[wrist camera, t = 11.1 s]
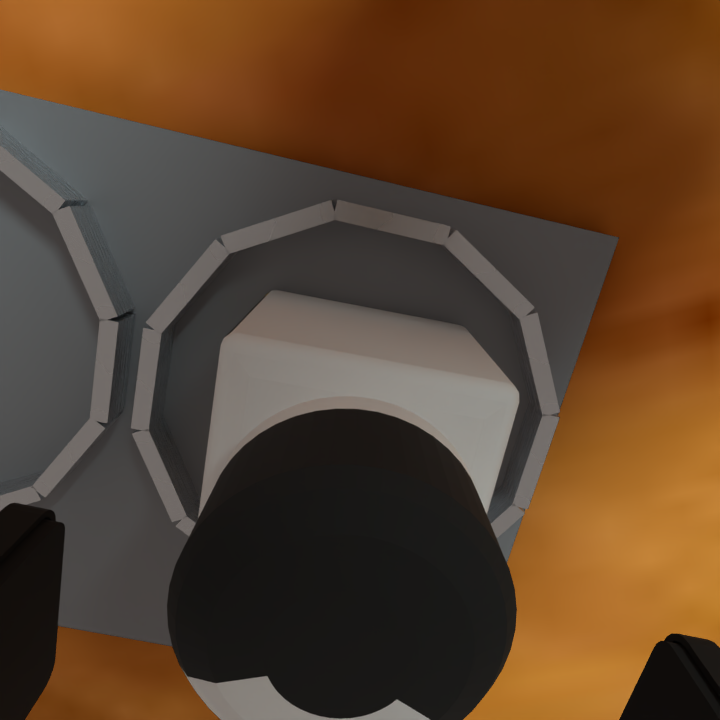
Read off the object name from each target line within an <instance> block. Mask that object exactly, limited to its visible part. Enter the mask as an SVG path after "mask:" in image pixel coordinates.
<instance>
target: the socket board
mask: <svg viewBox="0 0 720 720" xmlns="http://www.w3.org/2000/svg"><path fill="white" fill-rule="evenodd" d="M0 125H1V126H2V127H3V128H4V129H5V130H6V131H8V132H9V133H10V134H11V135H12V136H13V137H15V138H16V139H17V140H18V141H19V142H20V143H22V144H23V145H24V146H25V147H26V148H27V149H29V150H30V151H31V152H32V153H33V154H34V155H36V156H37V157H38V158H39V159H40V160H41V161H43V162H44V163H45V164H46V165H47V166H48V167H50V168H51V169H52V170H53V171H54V172H55V173H57V174H58V175H59V176H60V177H61V178H62V179H64V180H65V181H66V182H67V183H68V184H69V185H71V186H72V187H73V188H74V189H75V190H76V191H78V192H79V193H80V194H81V195H82V196H83V197H85V198H86V199H87V200H88V201H87V202H86V204H85V205H84V206H92V207H93V210H94V212H95V214H96V217H97V219H98V221H99V224H100V226H101V228H102V231H103V233H104V235H105V238H106V240H107V242H108V245H109V247H110V250H111V252H112V254H113V257H114V259H115V261H116V264H117V266H118V268H119V271H120V273H121V275H122V278H123V280H124V282H125V285H126V287H127V289H128V292H129V294H130V297H131V299H132V301H133V304H134V306H135V308H134V309H132V310H130V311H128V312H132V313H136V319H135V327H134V336H133V344H132V352H131V361H130V369H129V377H128V386H127V394H126V402H125V408H124V409H123V410H122V412H123V413H122V414H121V415H120V416H119V417H118V418H117V420H116V421H115V422H114V423H113V424H112V425H111V427H110V428H109V429H108V430H107V431H106V432H105V434H104V435H103V436H102V437H101V438H100V439H99V440H98V442H97V443H96V444H95V445H94V446H93V447H92V449H91V450H90V451H89V452H88V453H87V454H86V455H85V457H84V458H83V459H82V460H81V461H80V462H79V464H78V465H77V466H76V467H75V468H74V469H73V470H72V472H71V473H70V474H69V475H68V476H67V477H66V478H65V479H64V480H63V481H62V482H61V483H60V484H59V485H58V486H57V487H56V488H55V489H54V490H53V491H52V492H51V493H50V494H49V495H48V496H46V497H44V498H43V499H42V500H40V501H37V502H33V503H30V504H27V505H29V506H34V507H40V508H45V509H50V510H52V511H54V513H55V516H56V521H57V522H62V523H64V525H65V540H64V552H63V565H62V578H61V591H60V603H59V616H58V626H62V627H67V628H73V629H78V630H84V631H90V632H95V633H101V634H106V635H112V636H117V637H123V638H129V639H134V640H140V641H145V642H151V643H157V644H162V645H168V646H172V643H171V638H170V634H169V629H168V619H167V600H168V592H169V584H170V581H171V578H172V574H173V571H174V568H175V564H176V562H177V560H178V558H179V556H180V554H181V552H182V550H183V548H184V546H185V544H186V542H187V540H188V538H189V536H188V535H186V534H185V533H184V532H182V531H181V530H180V529H178V528H177V527H176V524H177V522H178V521H179V520H178V521H174V522H172V521H171V519H170V517H169V514H168V512H167V510H166V508H165V506H164V503H163V501H162V499H161V497H160V495H159V493H158V490H157V488H156V486H155V484H154V482H153V479H152V477H151V475H150V473H149V471H148V468H147V466H146V464H145V462H144V460H143V457H142V455H141V453H140V451H139V449H138V446H137V444H136V442H135V440H134V438H133V435H132V433H133V432H134V431H135V430H136V429H132V428H131V423H132V415H133V407H134V398H135V390H136V382H137V374H138V366H139V358H140V350H141V342H142V334H143V328H144V327H145V326H147V325H148V324H147V323H146V321H147V320H148V319H149V318H150V317H151V315H152V314H153V313H154V312H155V311H156V309H157V308H158V307H159V306H160V305H161V304H162V302H163V301H164V300H165V299H166V298H167V296H168V295H169V294H170V293H171V292H172V290H173V289H174V288H175V287H176V286H177V284H178V283H179V282H180V281H181V280H182V278H183V277H184V276H185V275H186V274H187V272H188V271H189V270H190V269H191V268H192V267H193V265H194V264H195V263H196V262H197V261H198V259H199V258H200V257H201V256H202V255H203V253H204V252H205V251H206V250H207V249H208V247H209V246H210V245H211V244H212V243H213V241H214V240H215V239H218V238H221V235H224V234H227V233H231V232H234V231H237V230H240V229H243V228H246V227H249V226H252V225H255V224H258V223H261V222H265V221H268V220H271V219H274V218H277V217H280V216H283V215H286V214H289V213H292V212H295V211H299V210H302V209H305V208H308V207H311V206H314V205H317V204H320V203H323V202H326V201H329V200H333V202H334V205H335V208H336V204H337V200H342V201H346V202H350V203H354V204H359V205H363V206H367V207H371V208H376V209H380V210H384V211H388V212H392V213H397V214H401V215H405V216H409V217H414V218H418V219H422V220H426V221H431V222H435V223H439V224H443V225H447V226H451V228H453V229H456V230H457V231H458V232H459V233H460V234H461V235H462V236H463V237H464V238H465V239H466V240H467V241H468V242H469V243H470V244H471V245H472V246H473V247H474V248H475V249H476V250H477V251H478V252H479V253H480V254H481V255H482V256H483V257H484V258H486V259H487V260H488V261H489V262H490V263H491V264H492V265H493V266H494V267H495V268H496V269H497V270H498V271H499V272H500V273H501V274H502V275H503V276H504V277H505V278H506V279H507V280H508V281H509V282H510V283H511V284H512V285H513V286H514V287H515V288H516V289H517V290H518V291H519V292H520V293H521V294H522V295H523V296H524V297H525V298H526V299H527V300H528V301H529V302H530V303H531V304H532V305H533V306H534V307H535V308H533V310H534V311H536V312H538V317H539V321H540V326H541V330H542V335H543V339H544V343H545V348H546V352H547V357H548V361H549V365H550V370H551V374H552V379H553V383H554V388H555V392H556V396H557V401H558V405H559V410H560V407H561V404H562V402H563V399H564V396H565V393H566V390H567V387H568V384H569V381H570V378H571V375H572V373H573V370H574V367H575V364H576V361H577V358H578V355H579V352H580V349H581V346H582V344H583V341H584V338H585V335H586V332H587V329H588V326H589V323H590V320H591V318H592V315H593V312H594V309H595V306H596V303H597V300H598V297H599V294H600V291H601V289H602V286H603V283H604V280H605V277H606V274H607V271H608V268H609V265H610V262H611V260H612V257H613V254H614V251H615V248H616V245H617V242H618V239H619V237H615V236H611V235H606V234H602V233H598V232H594V231H590V230H585V229H581V228H577V227H573V226H569V225H565V224H560V223H556V222H552V221H548V220H544V219H539V218H535V217H531V216H527V215H523V214H518V213H514V212H510V211H506V210H502V209H498V208H493V207H489V206H485V205H481V204H477V203H472V202H468V201H464V200H460V199H456V198H452V197H447V196H443V195H439V194H435V193H431V192H426V191H422V190H418V189H414V188H410V187H405V186H401V185H397V184H393V183H389V182H385V181H380V180H376V179H372V178H368V177H364V176H359V175H355V174H351V173H347V172H343V171H339V170H334V169H330V168H326V167H322V166H318V165H313V164H309V163H305V162H301V161H297V160H292V159H288V158H284V157H280V156H276V155H272V154H267V153H263V152H259V151H255V150H251V149H246V148H242V147H238V146H234V145H230V144H225V143H221V142H217V141H213V140H209V139H205V138H200V137H196V136H192V135H188V134H184V133H179V132H175V131H171V130H167V129H163V128H159V127H154V126H150V125H146V124H142V123H138V122H133V121H129V120H125V119H121V118H117V117H112V116H108V115H104V114H100V113H96V112H92V111H87V110H83V109H79V108H75V107H71V106H66V105H62V104H58V103H54V102H50V101H45V100H41V99H37V98H33V97H29V96H25V95H20V94H16V93H12V92H8V91H4V90H0ZM271 290H279V291H285V292H290V293H295V294H300V295H305V296H311V297H316V298H321V299H326V300H332V301H337V302H342V303H347V304H353V305H358V306H363V307H368V308H373V309H379V310H384V311H389V312H394V313H400V314H405V315H410V316H415V317H421V318H426V319H431V320H436V321H441V322H447V323H452V324H457V325H461V326H463V327H465V328H466V329H467V330H468V331H469V333H470V334H471V335H472V336H473V337H474V339H475V340H476V341H477V342H478V343H479V344H480V346H481V347H482V348H483V349H484V350H485V351H486V353H487V354H488V355H489V356H490V357H491V359H492V360H493V361H494V362H495V363H496V364H497V366H498V367H499V368H500V369H501V370H502V371H503V373H504V374H505V375H506V376H507V377H508V379H509V380H510V381H511V382H512V383H513V384H514V386H515V387H516V389H517V390H518V392H519V405H518V408H517V412H516V415H515V419H514V422H513V426H512V429H511V433H510V436H509V440H508V443H507V446H506V450H505V453H504V457H503V460H502V464H501V467H500V471H499V474H498V478H497V481H496V485H495V488H494V491H495V490H496V489H497V488H498V487H499V486H500V485H501V484H502V482H503V479H504V476H505V473H506V470H507V467H508V464H509V461H510V458H511V455H512V452H513V449H514V446H515V443H516V440H517V437H518V434H519V431H520V427H521V424H522V421H523V418H524V415H525V412H526V409H527V406H528V403H529V397H528V392H527V388H526V384H525V380H524V376H523V372H522V368H521V363H520V359H519V355H518V351H517V347H516V343H515V338H514V334H513V330H512V326H511V322H510V318H509V314H508V310H506V309H505V308H504V307H503V306H502V305H501V304H500V303H499V302H498V301H497V300H496V299H495V298H494V297H493V296H492V295H491V294H490V293H489V292H488V291H487V290H486V289H485V288H484V287H483V286H482V285H481V284H480V283H479V282H478V281H477V280H476V279H475V278H474V277H473V276H472V275H471V274H470V273H469V272H468V271H467V270H466V269H465V268H464V267H463V266H462V265H460V264H459V263H458V262H457V261H456V260H455V259H454V258H453V257H452V256H451V255H450V254H449V253H448V252H447V251H446V250H445V249H444V248H443V247H442V246H441V245H440V244H436V243H432V242H428V241H423V240H419V239H415V238H410V237H406V236H402V235H398V234H393V233H389V232H385V231H380V230H376V229H372V228H367V227H363V226H359V225H355V224H350V223H346V222H342V221H337V220H333V221H330V222H327V223H324V224H321V225H318V226H315V227H311V228H308V229H305V230H302V231H299V232H296V233H293V234H290V235H286V236H283V237H280V238H277V239H274V240H271V241H268V242H265V243H262V244H258V245H255V246H252V247H249V248H246V249H243V250H240V251H238V252H237V253H236V254H235V255H234V256H233V257H232V259H231V260H230V261H229V262H228V263H227V264H226V266H225V267H224V268H223V269H222V270H221V271H220V273H219V274H218V275H217V276H216V277H215V278H214V280H213V281H212V282H211V283H210V284H209V285H208V287H207V288H206V289H205V290H204V291H203V293H202V294H201V295H200V296H199V297H198V298H197V300H196V301H195V302H194V303H193V304H192V305H191V307H190V308H189V309H188V310H187V311H186V312H185V314H184V315H183V316H182V317H181V318H180V319H179V321H178V322H177V323H176V326H175V333H174V341H173V348H172V355H171V362H170V369H169V376H168V383H167V390H166V397H165V405H164V412H163V415H164V417H165V420H166V422H167V424H168V427H169V429H170V431H171V433H172V436H173V438H174V440H175V443H176V445H177V447H178V450H179V452H180V454H181V456H182V459H183V461H184V463H185V466H186V468H187V470H188V473H189V475H190V477H191V479H192V482H193V484H194V486H195V489H196V491H197V493H198V495H199V496H200V497H201V492H202V484H203V476H204V469H205V461H206V453H207V446H208V438H209V430H210V423H211V415H212V407H213V400H214V392H215V384H216V377H217V369H218V361H219V354H220V346H221V343H222V341H223V339H224V337H225V336H226V335H227V334H228V333H229V332H230V331H231V330H232V329H233V328H234V327H235V326H236V325H237V324H238V323H239V322H240V321H241V320H242V319H243V318H244V317H245V316H246V315H247V314H248V313H249V312H250V310H251V309H252V308H253V307H254V306H255V305H256V304H257V303H258V302H259V301H260V300H261V299H262V298H263V297H264V296H265V295H266V294H267V293H269V292H270V291H271ZM99 323H100V320H99V317H98V315H97V313H96V311H95V308H94V306H93V304H92V302H91V299H90V297H89V295H88V293H87V290H86V288H85V286H84V284H83V281H82V279H81V277H80V275H79V272H78V270H77V268H76V266H75V263H74V261H73V259H72V257H71V254H70V252H69V250H68V248H67V245H66V243H65V241H64V239H63V236H62V234H61V232H60V230H59V228H58V225H57V223H56V221H55V219H54V216H53V214H52V213H51V212H50V211H48V210H47V209H46V208H45V207H44V206H42V205H41V204H40V203H39V202H38V201H36V200H35V199H34V198H33V197H32V196H31V195H29V194H28V193H27V192H26V191H25V190H23V189H22V188H21V187H20V186H19V185H17V184H16V183H15V182H14V181H13V180H11V179H10V178H9V177H8V176H7V175H5V174H4V173H3V172H2V171H1V170H0V483H1V482H4V481H8V480H11V479H14V478H18V477H21V476H25V475H28V474H31V473H35V472H38V471H41V470H45V469H47V468H48V467H49V466H50V464H51V463H52V462H53V461H54V460H55V458H56V457H57V456H58V455H59V454H60V453H61V451H62V450H63V449H64V448H65V447H66V446H67V444H68V443H69V442H70V441H71V440H72V439H73V437H74V436H75V435H76V434H77V433H78V431H79V430H80V429H81V428H82V427H83V426H84V424H85V423H86V422H87V421H88V420H89V419H90V411H91V401H92V391H93V381H94V372H95V362H96V352H97V342H98V333H99ZM558 413H559V412H558ZM558 413H556V414H557V415H558ZM522 509H523V511H524V512H525V508H522ZM522 517H523V516H521V517H520V518H519V519H518V520H517V521H516V522H515V523H514V524H512V525H511V526H510V527H509V528H508V529H507V530H506V531H505V532H503V533H502V534H501V535H500V536H499V537H498V538H497V541H498V543H499V545H500V548H501V550H502V553H503V555H504V558H505V560H506V562H507V561H508V558H509V555H510V552H511V549H512V546H513V543H514V541H515V538H516V535H517V532H518V529H519V526H520V523H521V520H522Z"/></svg>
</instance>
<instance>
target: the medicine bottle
mask: <svg viewBox="0 0 720 720" xmlns="http://www.w3.org/2000/svg"><path fill="white" fill-rule="evenodd" d="M518 405H519V392H518V390H517V389H516V387H515V386H514V384H513V383H512V382H511V381H510V380H509V379H508V377H507V376H506V375H505V374H504V373H503V371H502V370H501V369H500V368H499V367H498V366H497V364H496V363H495V362H494V361H493V360H492V359H491V357H490V356H489V355H488V354H487V353H486V351H485V350H484V349H483V348H482V347H481V346H480V344H479V343H478V342H477V341H476V340H475V339H474V337H473V336H472V335H471V334H470V333H469V331H468V330H467V329H466V328H465V327H463V326H461V325H457V324H452V323H447V322H441V321H436V320H431V319H426V318H421V317H415V316H410V315H405V314H400V313H394V312H389V311H384V310H379V309H373V308H368V307H363V306H358V305H353V304H347V303H342V302H337V301H332V300H326V299H321V298H316V297H311V296H305V295H300V294H295V293H290V292H285V291H279V290H271V291H270V292H269V293H267V294H266V295H265V296H264V297H263V298H262V299H261V300H260V301H259V302H258V303H257V304H256V305H255V306H254V307H253V308H252V309H251V310H250V312H249V313H248V314H247V315H246V316H245V317H244V318H243V319H242V320H241V321H240V322H239V323H238V324H237V325H236V326H235V327H234V328H233V329H232V330H231V331H230V332H229V333H228V334H227V335H226V336H225V337H224V339H223V341H222V343H221V346H220V354H219V361H218V369H217V377H216V384H215V392H214V400H213V407H212V415H211V423H210V430H209V438H208V446H207V453H206V461H205V469H204V476H203V484H202V492H201V499H200V507H199V515H198V520H197V522H196V524H195V526H194V528H193V530H192V532H191V534H190V536H189V538H188V540H187V542H186V544H185V546H184V548H183V550H182V552H181V554H180V556H179V558H178V560H177V562H176V564H175V568H174V571H173V574H172V578H171V581H170V584H169V592H168V600H167V619H168V629H169V634H170V638H171V643H172V647H173V649H174V652H175V654H176V657H177V660H178V662H179V665H180V667H181V668H182V670H183V672H184V673H185V675H186V677H187V679H188V680H189V682H190V684H191V685H192V687H193V688H194V689H195V691H196V692H197V694H198V695H199V696H200V698H201V699H202V700H203V701H204V703H205V704H206V705H207V706H208V708H209V709H210V710H211V711H212V712H213V713H214V714H215V715H217V716H218V717H219V718H220V719H221V720H463V719H464V718H465V717H466V716H467V715H468V714H469V713H470V712H472V710H473V709H474V708H475V707H476V706H477V704H478V703H479V702H480V701H481V700H482V698H483V697H484V696H485V695H486V693H487V692H488V691H489V689H490V688H491V687H492V685H493V684H494V682H495V680H496V679H497V677H498V676H499V674H500V672H501V671H502V669H503V667H504V664H505V662H506V659H507V657H508V655H509V652H510V650H511V646H512V641H513V637H514V633H515V626H516V612H517V608H516V598H515V589H514V585H513V581H512V578H511V574H510V570H509V567H508V565H507V562H506V560H505V558H504V555H503V553H502V550H501V548H500V545H499V543H498V541H497V538H496V536H495V533H494V531H493V528H492V526H491V524H490V521H489V519H488V516H487V512H488V509H489V505H490V502H491V498H492V495H493V492H494V488H495V485H496V481H497V478H498V474H499V471H500V467H501V464H502V460H503V457H504V453H505V450H506V446H507V443H508V440H509V436H510V433H511V429H512V426H513V422H514V419H515V415H516V412H517V408H518Z"/></svg>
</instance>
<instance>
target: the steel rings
mask: <svg viewBox="0 0 720 720" xmlns="http://www.w3.org/2000/svg"><path fill="white" fill-rule="evenodd" d="M0 170H1V171H2V172H3V173H4V174H5V175H7V176H8V177H9V178H10V179H11V180H13V181H14V182H15V183H16V184H17V185H19V186H20V187H21V188H22V189H23V190H25V191H26V192H27V193H28V194H29V195H31V196H32V197H33V198H34V199H35V200H36V201H38V202H39V203H40V204H41V205H42V206H44V207H45V208H46V209H47V210H48V211H50V212H51V213H52V214H53V216H54V219H55V221H56V223H57V225H58V228H59V230H60V232H61V234H62V236H63V239H64V241H65V243H66V245H67V248H68V250H69V252H70V254H71V257H72V259H73V261H74V263H75V266H76V268H77V270H78V272H79V275H80V277H81V279H82V281H83V284H84V286H85V288H86V290H87V293H88V295H89V297H90V299H91V302H92V304H93V306H94V308H95V311H96V313H97V315H98V317H99V320H100V323H99V333H98V342H97V352H96V362H95V372H94V381H93V391H92V401H91V411H90V419H89V420H88V421H87V422H86V423H85V424H84V426H83V427H82V428H81V429H80V430H79V431H78V433H77V434H76V435H75V436H74V437H73V439H72V440H71V441H70V442H69V443H68V444H67V446H66V447H65V448H64V449H63V450H62V451H61V453H60V454H59V455H58V456H57V457H56V458H55V460H54V461H53V462H52V463H51V464H50V466H49V467H48V468H47V469H45V470H41V471H38V472H35V473H31V474H28V475H25V476H21V477H18V478H14V479H11V480H8V481H4V482H1V483H0V511H1V510H2V509H3V508H4V507H6V506H7V505H9V504H10V503H19V504H24V505H27V504H30V503H33V502H37V501H40V500H42V499H43V498H44V497H46V496H48V495H49V494H50V493H51V492H52V491H53V490H54V489H55V488H56V487H57V486H58V485H59V484H60V483H61V482H62V481H63V480H64V479H65V478H66V477H67V476H68V475H69V474H70V473H71V472H72V470H73V469H74V468H75V467H76V466H77V465H78V464H79V462H80V461H81V460H82V459H83V458H84V457H85V455H86V454H87V453H88V452H89V451H90V450H91V449H92V447H93V446H94V445H95V444H96V443H97V442H98V440H99V439H100V438H101V437H102V436H103V435H104V434H105V432H106V431H107V430H108V429H109V428H110V427H111V425H112V424H113V423H114V422H115V421H116V420H117V418H118V417H119V416H120V415H121V414H122V413H123V412H122V410H123V409H124V408H125V402H126V394H127V386H128V377H129V369H130V361H131V352H132V344H133V336H134V327H135V319H136V313H132V312H128V311H130V310H132V309H134V308H135V306H134V304H133V301H132V299H131V297H130V294H129V292H128V289H127V287H126V285H125V282H124V280H123V278H122V275H121V273H120V271H119V268H118V266H117V264H116V261H115V259H114V257H113V254H112V252H111V250H110V247H109V245H108V242H107V240H106V238H105V235H104V233H103V231H102V228H101V226H100V224H99V221H98V219H97V217H96V214H95V212H94V210H93V207H92V206H84V205H85V204H86V202H87V201H88V200H87V199H86V198H85V197H83V196H82V195H81V194H80V193H79V192H78V191H76V190H75V189H74V188H73V187H72V186H71V185H69V184H68V183H67V182H66V181H65V180H64V179H62V178H61V177H60V176H59V175H58V174H57V173H55V172H54V171H53V170H52V169H51V168H50V167H48V166H47V165H46V164H45V163H44V162H43V161H41V160H40V159H39V158H38V157H37V156H36V155H34V154H33V153H32V152H31V151H30V150H29V149H27V148H26V147H25V146H24V145H23V144H22V143H20V142H19V141H18V140H17V139H16V138H15V137H13V136H12V135H11V134H10V133H9V132H8V131H6V130H5V129H4V128H3V127H2V126H1V125H0ZM333 220H337V221H342V222H346V223H350V224H355V225H359V226H363V227H367V228H372V229H376V230H380V231H385V232H389V233H393V234H398V235H402V236H406V237H410V238H415V239H419V240H423V241H428V242H432V243H436V244H440V245H441V246H442V247H443V248H444V249H445V250H446V251H447V252H448V253H449V254H450V255H451V256H452V257H453V258H454V259H455V260H456V261H457V262H458V263H459V264H460V265H462V266H463V267H464V268H465V269H466V270H467V271H468V272H469V273H470V274H471V275H472V276H473V277H474V278H475V279H476V280H477V281H478V282H479V283H480V284H481V285H482V286H483V287H484V288H485V289H486V290H487V291H488V292H489V293H490V294H491V295H492V296H493V297H494V298H495V299H496V300H497V301H498V302H499V303H500V304H501V305H502V306H503V307H504V308H505V309H506V310H508V314H509V318H510V322H511V326H512V330H513V334H514V338H515V343H516V347H517V351H518V355H519V359H520V363H521V368H522V372H523V376H524V380H525V384H526V388H527V392H528V397H529V403H528V406H527V409H526V412H525V415H524V418H523V421H522V424H521V427H520V431H519V434H518V437H517V440H516V443H515V446H514V449H513V452H512V455H511V458H510V461H509V464H508V467H507V470H506V473H505V476H504V479H503V482H502V484H501V485H500V486H499V487H498V488H497V489H496V490H495V491H494V492H493V495H492V498H491V502H490V505H489V509H488V512H487V516H488V519H489V521H490V524H491V526H492V528H493V531H494V533H495V536H496V538H498V537H499V536H500V535H501V534H502V533H503V532H505V531H506V530H507V529H508V528H509V527H510V526H511V525H512V524H514V523H515V522H516V521H517V520H518V519H519V518H520V517H521V516H523V515H524V514H525V512H524V511H523V509H522V508H525V509H528V507H529V505H530V502H531V499H532V496H533V493H534V490H535V487H536V484H537V481H538V479H539V476H540V473H541V470H542V467H543V464H544V461H545V458H546V456H547V453H548V450H549V447H550V444H551V441H552V438H553V435H554V432H555V430H556V427H557V424H558V421H559V418H560V417H559V416H558V415H557V414H556V413H558V412H560V410H559V405H558V401H557V396H556V392H555V388H554V383H553V379H552V374H551V370H550V365H549V361H548V357H547V352H546V348H545V343H544V339H543V335H542V330H541V326H540V321H539V317H538V312H536V311H534V310H533V308H535V307H534V306H533V305H532V304H531V303H530V302H529V301H528V300H527V299H526V298H525V297H524V296H523V295H522V294H521V293H520V292H519V291H518V290H517V289H516V288H515V287H514V286H513V285H512V284H511V283H510V282H509V281H508V280H507V279H506V278H505V277H504V276H503V275H502V274H501V273H500V272H499V271H498V270H497V269H496V268H495V267H494V266H493V265H492V264H491V263H490V262H489V261H488V260H487V259H486V258H484V257H483V256H482V255H481V254H480V253H479V252H478V251H477V250H476V249H475V248H474V247H473V246H472V245H471V244H470V243H469V242H468V241H467V240H466V239H465V238H464V237H463V236H462V235H461V234H460V233H459V232H458V231H457V230H456V229H453V228H451V226H447V225H443V224H439V223H435V222H431V221H426V220H422V219H418V218H414V217H409V216H405V215H401V214H397V213H392V212H388V211H384V210H380V209H376V208H371V207H367V206H363V205H359V204H354V203H350V202H346V201H342V200H337V204H336V208H335V205H334V202H333V200H329V201H326V202H323V203H320V204H317V205H314V206H311V207H308V208H305V209H302V210H299V211H295V212H292V213H289V214H286V215H283V216H280V217H277V218H274V219H271V220H268V221H265V222H261V223H258V224H255V225H252V226H249V227H246V228H243V229H240V230H237V231H234V232H231V233H227V234H224V235H221V238H218V239H215V240H214V241H213V243H212V244H211V245H210V246H209V247H208V249H207V250H206V251H205V252H204V253H203V255H202V256H201V257H200V258H199V259H198V261H197V262H196V263H195V264H194V265H193V267H192V268H191V269H190V270H189V271H188V272H187V274H186V275H185V276H184V277H183V278H182V280H181V281H180V282H179V283H178V284H177V286H176V287H175V288H174V289H173V290H172V292H171V293H170V294H169V295H168V296H167V298H166V299H165V300H164V301H163V302H162V304H161V305H160V306H159V307H158V308H157V309H156V311H155V312H154V313H153V314H152V315H151V317H150V318H149V319H148V320H147V321H146V323H147V324H148V325H147V326H145V327H144V328H143V334H142V342H141V350H140V358H139V366H138V374H137V382H136V390H135V398H134V407H133V415H132V423H131V428H132V429H136V430H135V431H134V432H133V433H132V435H133V438H134V440H135V442H136V444H137V446H138V449H139V451H140V453H141V455H142V457H143V460H144V462H145V464H146V466H147V468H148V471H149V473H150V475H151V477H152V479H153V482H154V484H155V486H156V488H157V490H158V493H159V495H160V497H161V499H162V501H163V503H164V506H165V508H166V510H167V512H168V514H169V517H170V519H171V521H172V522H174V521H178V520H179V521H178V522H177V524H176V527H177V528H178V529H180V530H181V531H182V532H184V533H185V534H186V535H188V536H190V534H191V532H192V530H193V528H194V526H195V524H196V522H197V520H198V515H199V507H200V499H201V497H200V496H199V495H198V493H197V491H196V489H195V486H194V484H193V482H192V479H191V477H190V475H189V473H188V470H187V468H186V466H185V463H184V461H183V459H182V456H181V454H180V452H179V450H178V447H177V445H176V443H175V440H174V438H173V436H172V433H171V431H170V429H169V427H168V424H167V422H166V420H165V417H164V415H163V412H164V405H165V397H166V390H167V383H168V376H169V369H170V362H171V355H172V348H173V341H174V333H175V326H176V323H177V322H178V321H179V319H180V318H181V317H182V316H183V315H184V314H185V312H186V311H187V310H188V309H189V308H190V307H191V305H192V304H193V303H194V302H195V301H196V300H197V298H198V297H199V296H200V295H201V294H202V293H203V291H204V290H205V289H206V288H207V287H208V285H209V284H210V283H211V282H212V281H213V280H214V278H215V277H216V276H217V275H218V274H219V273H220V271H221V270H222V269H223V268H224V267H225V266H226V264H227V263H228V262H229V261H230V260H231V259H232V257H233V256H234V255H235V254H236V253H237V252H238V251H240V250H243V249H246V248H249V247H252V246H255V245H258V244H262V243H265V242H268V241H271V240H274V239H277V238H280V237H283V236H286V235H290V234H293V233H296V232H299V231H302V230H305V229H308V228H311V227H315V226H318V225H321V224H324V223H327V222H330V221H333Z"/></svg>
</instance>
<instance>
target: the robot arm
mask: <svg viewBox="0 0 720 720" xmlns="http://www.w3.org/2000/svg"><path fill="white" fill-rule="evenodd" d="M64 540H65V525H64V523H62V522H57V521H56V516H55V513H54V511H52V510H50V509H45V508H40V507H34V506H29V505H24V504H19V503H10V504H9V505H7V506H6V507H4V508H3V509H2V510H1V511H0V720H25V718H26V717H27V715H28V714H29V712H30V711H31V709H32V707H33V706H34V704H35V703H36V701H37V700H38V698H39V696H40V695H41V693H42V692H43V690H44V688H45V687H46V685H47V683H48V681H49V678H50V676H51V673H52V671H53V667H54V663H55V654H56V642H57V629H58V616H59V603H60V591H61V578H62V565H63V552H64ZM619 720H720V648H719V647H718V646H717V645H716V644H715V643H714V642H712V641H710V640H707V639H702V638H697V637H692V636H687V635H682V634H670V635H669V636H667V637H666V639H665V640H664V641H660V642H658V643H657V644H656V646H655V647H654V649H653V651H652V653H651V655H650V657H649V659H648V661H647V663H646V665H645V668H644V670H643V672H642V674H641V676H640V678H639V680H638V682H637V684H636V686H635V688H634V690H633V692H632V694H631V696H630V699H629V701H628V703H627V705H626V707H625V709H624V711H623V713H622V715H621V717H620V719H619Z"/></svg>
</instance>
